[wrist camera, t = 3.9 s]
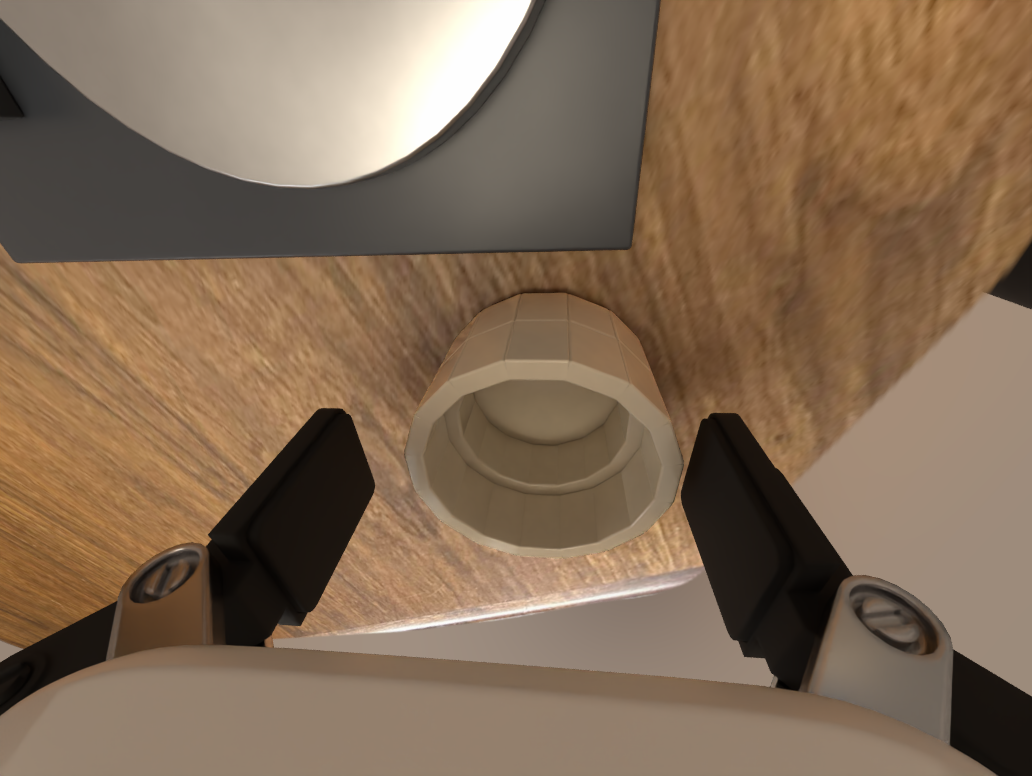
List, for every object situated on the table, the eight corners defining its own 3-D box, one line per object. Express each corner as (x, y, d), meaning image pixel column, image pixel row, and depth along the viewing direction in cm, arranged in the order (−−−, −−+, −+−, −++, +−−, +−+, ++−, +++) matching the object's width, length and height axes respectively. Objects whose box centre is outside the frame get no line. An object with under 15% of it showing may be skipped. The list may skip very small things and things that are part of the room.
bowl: (661, 285, 11) (713, 362, 7) (632, 456, 15) (656, 566, 11) (436, 287, 12) (375, 358, 8) (462, 449, 15) (430, 551, 12)
